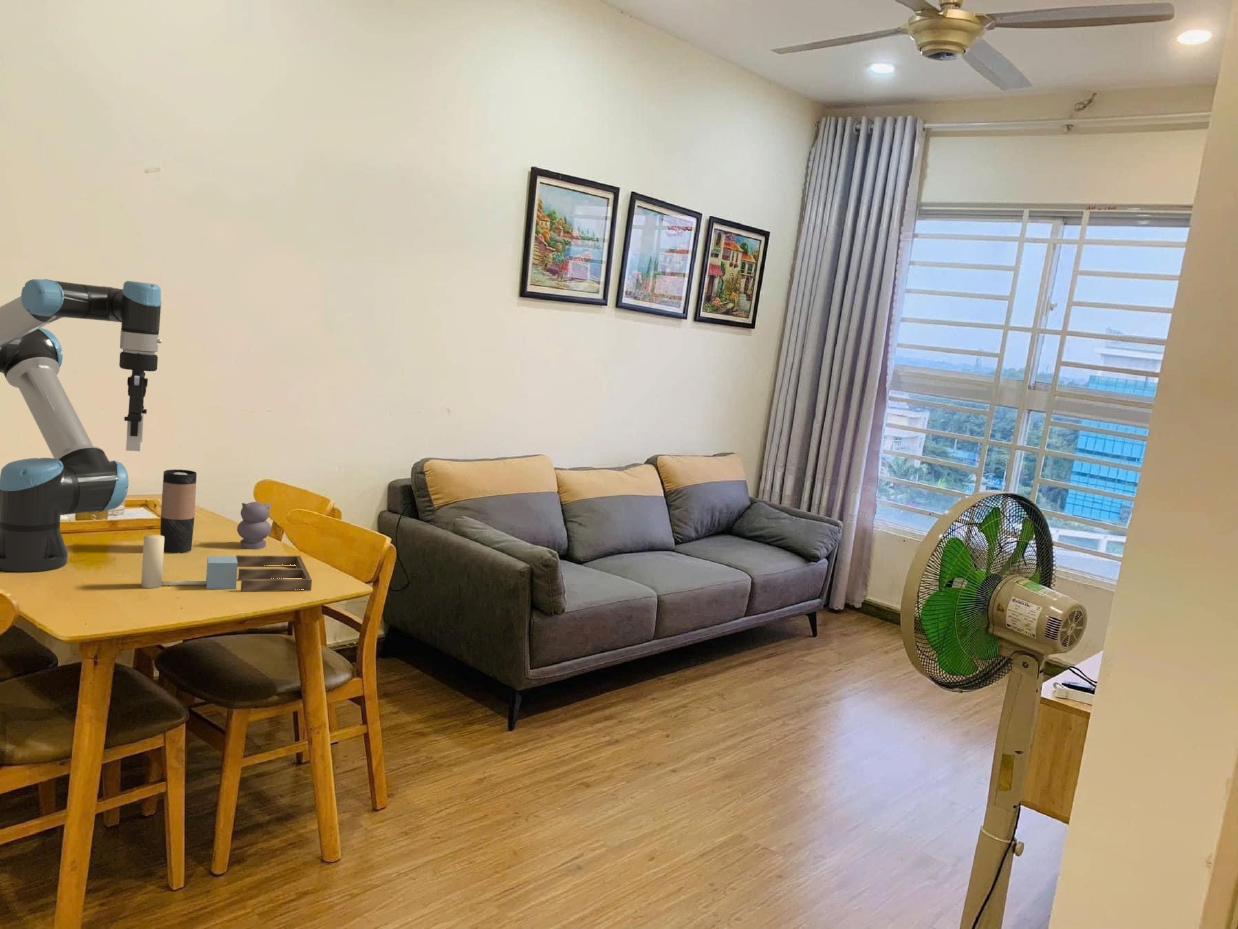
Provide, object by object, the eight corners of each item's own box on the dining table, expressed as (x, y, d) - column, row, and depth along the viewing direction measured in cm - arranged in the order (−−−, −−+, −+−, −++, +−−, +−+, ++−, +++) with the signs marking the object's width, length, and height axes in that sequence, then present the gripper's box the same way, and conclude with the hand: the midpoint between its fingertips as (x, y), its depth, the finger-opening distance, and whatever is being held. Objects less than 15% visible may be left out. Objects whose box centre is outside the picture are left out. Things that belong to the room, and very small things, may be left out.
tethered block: (140, 589, 196) (143, 540, 195) (141, 582, 202) (144, 533, 200) (235, 588, 205) (239, 541, 203) (234, 581, 210) (237, 535, 209)
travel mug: (198, 548, 234) (203, 472, 231) (181, 555, 226) (186, 476, 223) (170, 544, 234) (174, 468, 232) (152, 550, 227) (156, 471, 224)
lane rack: (240, 591, 203) (241, 580, 203) (235, 565, 223) (235, 555, 222) (311, 590, 210) (311, 580, 210) (299, 565, 229) (300, 555, 229)
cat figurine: (265, 542, 248) (268, 498, 247) (274, 549, 242) (277, 504, 241) (232, 543, 243) (235, 499, 241) (240, 550, 237) (243, 505, 235)
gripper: (157, 357, 194) (151, 455, 196) (158, 350, 216) (154, 439, 218) (116, 353, 190) (112, 453, 193) (122, 347, 212) (118, 437, 215)
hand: (134, 446), depth 206 cm, fingers open, 13 cm apart
